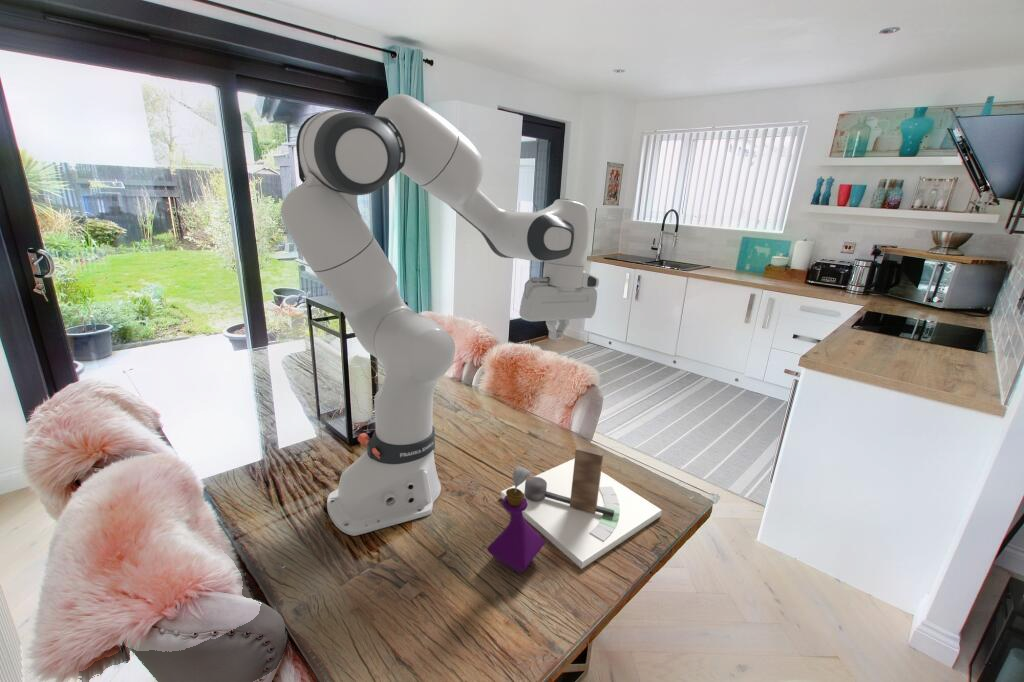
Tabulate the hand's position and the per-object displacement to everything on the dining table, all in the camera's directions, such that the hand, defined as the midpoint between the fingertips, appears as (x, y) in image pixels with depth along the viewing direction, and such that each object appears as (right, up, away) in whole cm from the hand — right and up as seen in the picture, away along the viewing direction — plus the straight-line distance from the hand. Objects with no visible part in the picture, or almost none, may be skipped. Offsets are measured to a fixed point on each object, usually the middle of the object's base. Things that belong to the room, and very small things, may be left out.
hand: (555, 338), depth 102 cm
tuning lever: (+1, -33, -12) cm, 35 cm away
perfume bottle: (-9, -39, -24) cm, 46 cm away
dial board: (+4, -34, -10) cm, 36 cm away
